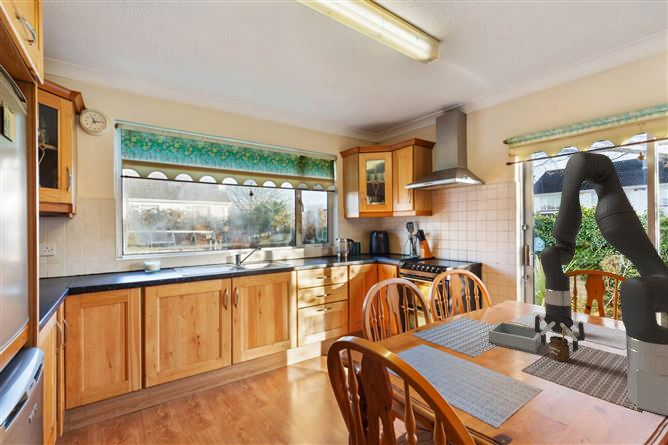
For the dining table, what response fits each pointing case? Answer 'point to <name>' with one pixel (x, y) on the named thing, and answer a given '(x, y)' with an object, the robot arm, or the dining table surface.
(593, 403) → the dining table surface
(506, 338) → the bin
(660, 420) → the dining table surface
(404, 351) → the dining table surface
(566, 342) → the utensil holder
